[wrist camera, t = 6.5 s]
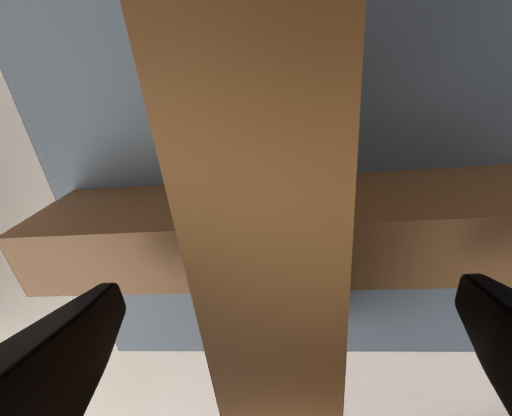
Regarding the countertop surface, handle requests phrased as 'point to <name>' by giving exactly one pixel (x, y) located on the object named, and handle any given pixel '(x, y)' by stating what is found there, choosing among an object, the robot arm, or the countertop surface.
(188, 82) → the crossbar
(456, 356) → the countertop surface
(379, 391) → the countertop surface
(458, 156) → the joint board
